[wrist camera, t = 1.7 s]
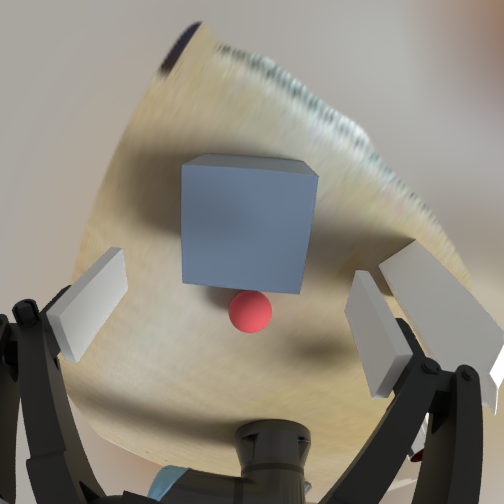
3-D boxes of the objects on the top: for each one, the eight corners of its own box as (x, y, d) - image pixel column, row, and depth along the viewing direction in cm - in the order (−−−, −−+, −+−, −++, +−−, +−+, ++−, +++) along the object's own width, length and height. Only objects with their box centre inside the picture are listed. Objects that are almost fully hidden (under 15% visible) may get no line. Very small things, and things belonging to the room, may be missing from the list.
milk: (393, 297, 35) (464, 436, 15) (376, 264, 33) (461, 413, 13) (430, 272, 33) (521, 396, 13) (416, 237, 31) (528, 363, 11)
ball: (269, 317, 37) (269, 343, 32) (230, 313, 37) (225, 339, 32) (273, 284, 35) (274, 308, 30) (231, 280, 35) (226, 304, 30)
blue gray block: (292, 252, 33) (299, 294, 25) (202, 243, 33) (182, 283, 25) (304, 161, 29) (318, 176, 21) (205, 153, 29) (181, 164, 21)
